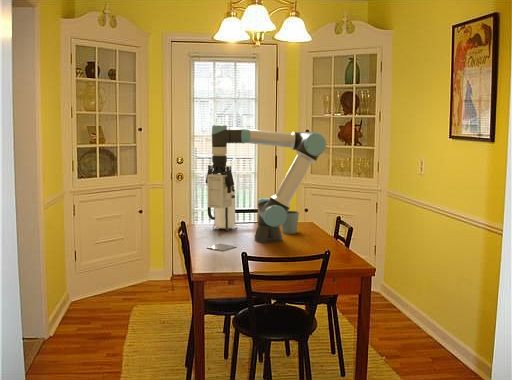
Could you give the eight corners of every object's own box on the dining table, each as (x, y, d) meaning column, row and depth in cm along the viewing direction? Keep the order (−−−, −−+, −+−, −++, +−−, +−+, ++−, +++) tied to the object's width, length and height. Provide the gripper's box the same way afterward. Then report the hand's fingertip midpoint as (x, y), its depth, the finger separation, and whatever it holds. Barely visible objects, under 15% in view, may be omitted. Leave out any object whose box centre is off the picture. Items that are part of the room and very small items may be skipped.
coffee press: (235, 226, 363) (235, 177, 359) (238, 231, 348) (238, 180, 344) (207, 226, 361) (207, 178, 357) (209, 232, 345) (208, 181, 341)
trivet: (236, 247, 307) (236, 246, 307) (223, 251, 298) (223, 250, 298) (220, 244, 313) (220, 243, 313) (206, 248, 304) (206, 247, 304)
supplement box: (232, 206, 306) (232, 174, 304) (222, 208, 298) (223, 175, 296) (216, 204, 311) (216, 172, 308) (206, 207, 302) (206, 174, 300)
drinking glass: (278, 232, 343) (278, 212, 342) (286, 229, 352) (287, 210, 350) (293, 234, 338) (293, 214, 336) (301, 231, 346) (301, 211, 345)
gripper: (241, 155, 297) (241, 199, 300) (207, 153, 311) (208, 195, 313) (231, 156, 291) (231, 201, 294) (198, 154, 305) (198, 197, 308)
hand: (219, 198), depth 304 cm, fingers closed on supplement box, 10 cm apart
